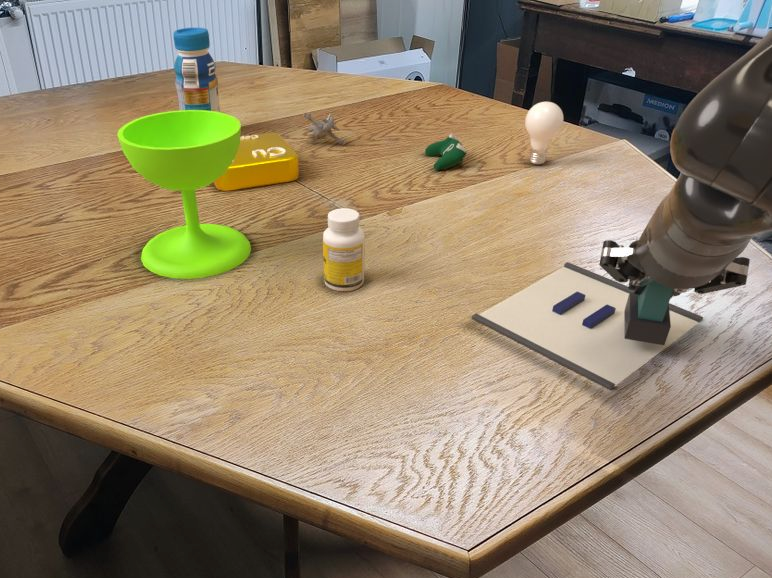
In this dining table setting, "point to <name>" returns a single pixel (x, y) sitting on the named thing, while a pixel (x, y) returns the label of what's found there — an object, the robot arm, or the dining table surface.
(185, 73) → the beverage bottle
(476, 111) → the dining table surface
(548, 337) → the whiteboard
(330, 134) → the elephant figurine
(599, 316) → the bar
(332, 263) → the supplement bottle
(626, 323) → the eraser
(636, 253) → the robot arm
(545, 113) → the lightbulb
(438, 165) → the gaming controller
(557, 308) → the bar
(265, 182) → the element tile
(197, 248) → the wineglass
